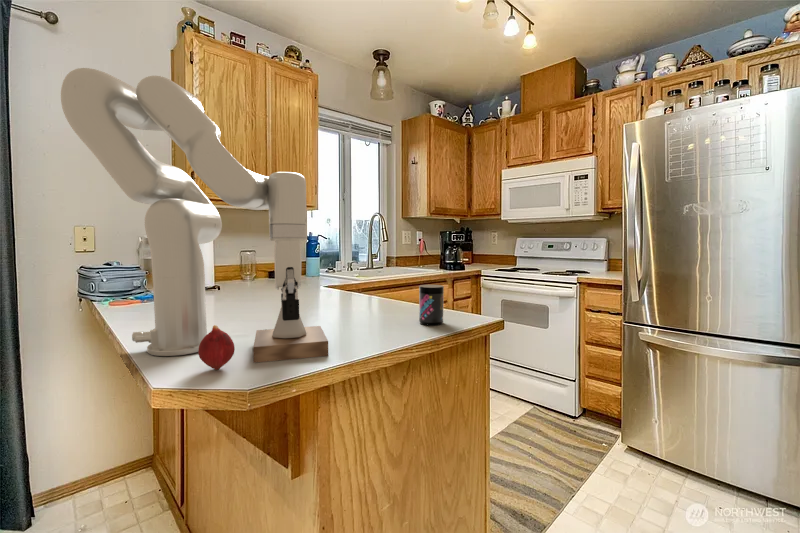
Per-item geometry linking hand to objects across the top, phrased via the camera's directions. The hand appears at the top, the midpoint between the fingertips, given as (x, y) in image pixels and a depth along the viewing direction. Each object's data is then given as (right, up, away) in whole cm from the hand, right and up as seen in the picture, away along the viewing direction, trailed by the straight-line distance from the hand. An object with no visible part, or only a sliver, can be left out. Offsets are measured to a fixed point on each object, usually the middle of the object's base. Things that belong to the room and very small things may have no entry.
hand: (290, 315), depth 81 cm
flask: (0, -5, 0) cm, 5 cm away
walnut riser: (0, -7, +1) cm, 7 cm away
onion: (-10, -8, -12) cm, 18 cm away
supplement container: (+32, -6, +26) cm, 41 cm away
